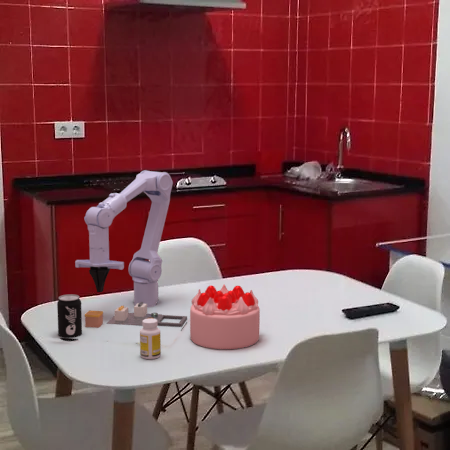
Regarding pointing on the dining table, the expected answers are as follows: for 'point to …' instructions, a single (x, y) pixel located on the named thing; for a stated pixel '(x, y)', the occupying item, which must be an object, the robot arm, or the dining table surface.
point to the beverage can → (69, 317)
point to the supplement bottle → (150, 339)
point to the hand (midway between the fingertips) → (100, 291)
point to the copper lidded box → (94, 319)
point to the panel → (134, 319)
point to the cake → (224, 318)
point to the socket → (180, 324)
